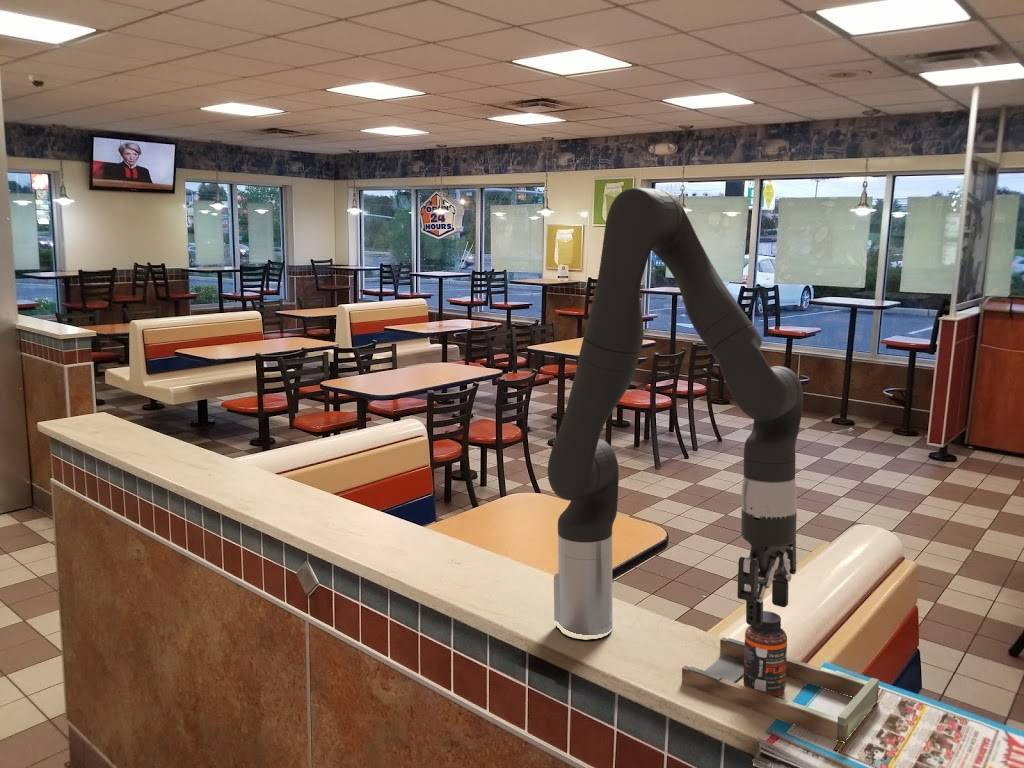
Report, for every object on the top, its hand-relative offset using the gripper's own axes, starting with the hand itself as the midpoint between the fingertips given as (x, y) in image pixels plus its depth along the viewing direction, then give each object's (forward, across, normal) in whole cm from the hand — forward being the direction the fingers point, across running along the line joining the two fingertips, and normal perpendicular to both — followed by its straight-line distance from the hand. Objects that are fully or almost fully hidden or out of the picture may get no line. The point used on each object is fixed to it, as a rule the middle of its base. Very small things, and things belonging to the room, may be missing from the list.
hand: (767, 615), depth 118 cm
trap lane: (+12, 0, +2) cm, 12 cm away
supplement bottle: (+12, 0, 0) cm, 12 cm away
